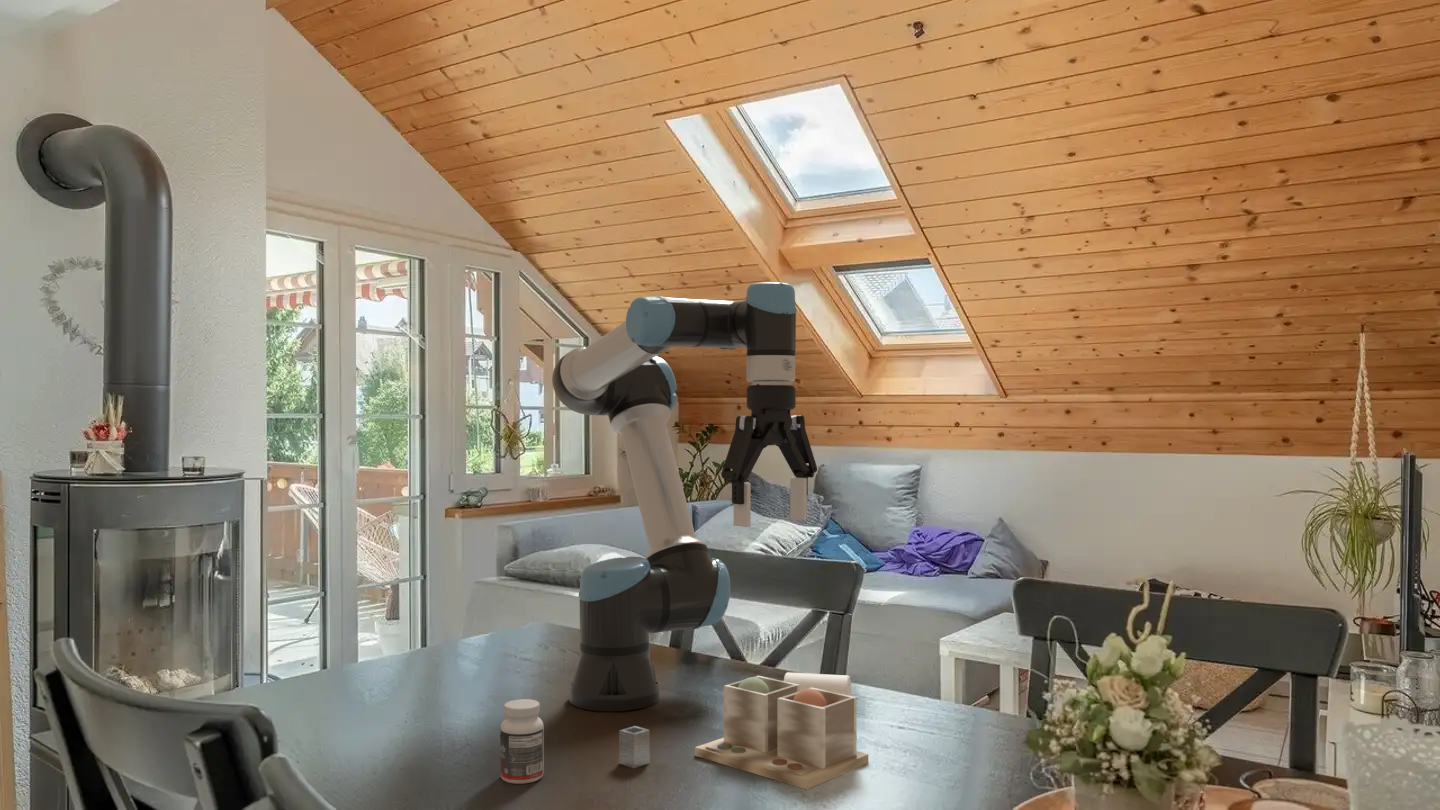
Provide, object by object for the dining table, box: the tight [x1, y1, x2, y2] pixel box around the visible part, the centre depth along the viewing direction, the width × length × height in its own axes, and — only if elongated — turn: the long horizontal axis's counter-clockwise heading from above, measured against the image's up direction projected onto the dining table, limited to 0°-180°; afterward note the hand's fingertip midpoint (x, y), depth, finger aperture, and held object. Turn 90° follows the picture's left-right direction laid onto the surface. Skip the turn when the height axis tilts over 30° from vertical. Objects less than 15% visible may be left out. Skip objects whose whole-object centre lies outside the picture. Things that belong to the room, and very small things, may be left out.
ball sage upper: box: [738, 676, 769, 694], centre depth 158 cm, size 5×5×5 cm
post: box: [618, 725, 651, 769], centre depth 152 cm, size 3×3×5 cm
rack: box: [694, 675, 869, 790], centre depth 153 cm, size 20×14×9 cm
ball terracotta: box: [793, 689, 827, 707], centre depth 152 cm, size 5×5×5 cm
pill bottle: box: [499, 698, 545, 785], centre depth 146 cm, size 6×6×10 cm
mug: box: [783, 672, 852, 696], centre depth 171 cm, size 12×10×8 cm
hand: (771, 522), depth 167 cm, fingers open, 13 cm apart
